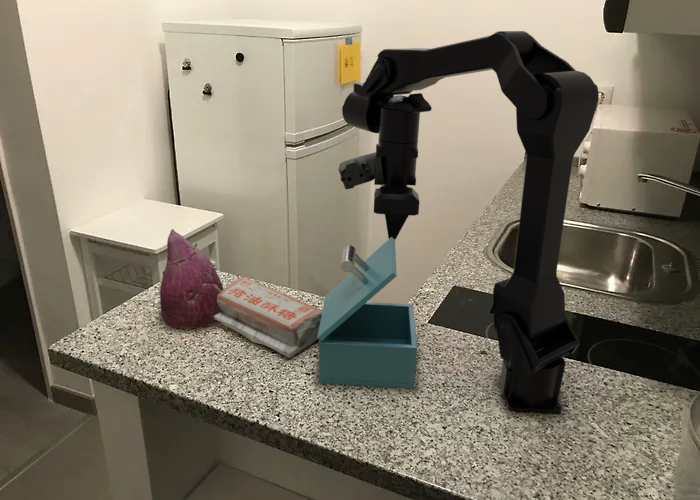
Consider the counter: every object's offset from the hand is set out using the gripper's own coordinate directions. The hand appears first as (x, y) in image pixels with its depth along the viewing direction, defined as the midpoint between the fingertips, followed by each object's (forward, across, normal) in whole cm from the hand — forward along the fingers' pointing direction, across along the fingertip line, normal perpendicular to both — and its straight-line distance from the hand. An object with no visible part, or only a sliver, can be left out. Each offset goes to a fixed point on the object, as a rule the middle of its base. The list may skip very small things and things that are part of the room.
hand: (392, 238), depth 91 cm
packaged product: (+12, +8, -18) cm, 23 cm away
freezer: (+12, +16, -3) cm, 20 cm away
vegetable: (+12, +6, -30) cm, 33 cm away
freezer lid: (+1, +16, -4) cm, 17 cm away
